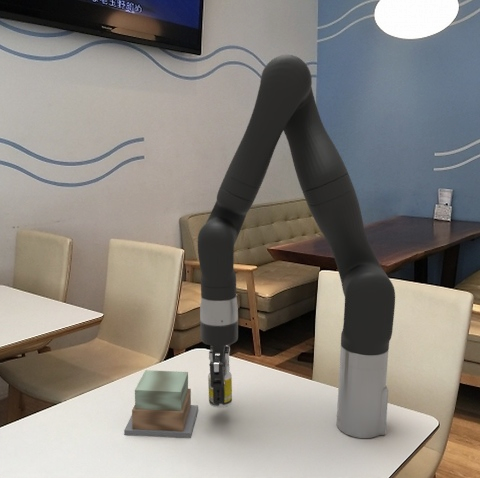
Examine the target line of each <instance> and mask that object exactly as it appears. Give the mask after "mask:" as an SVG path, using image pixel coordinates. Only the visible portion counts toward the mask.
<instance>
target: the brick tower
mask: <svg viewBox="0 0 480 478" xmlns="http://www.w3.org/2000/svg"><path fill="white" fill-rule="evenodd" d="M191 391H192V389H191V388H189V371H177V370H176V371H175V370H172V371H171V370H151V369H150V370H149V369H148V370H144V372H143V374H142V376H141V378H140V380H139V381H138V383H137V385H136V387H135V389H134V406H133V407H132V410H131V416H132V429H140V430H162V431H184V427H185V424H186V421H187V417H188V414H189V411H190V407H191V405H192V400H191V399H192V397H191V396H192V392H191Z"/></svg>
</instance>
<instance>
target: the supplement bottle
mask: <svg viewBox="0 0 480 478" xmlns="http://www.w3.org/2000/svg"><path fill="white" fill-rule="evenodd" d="M230 367H231V366H230V362H229V363H228V369H227V374H226V375H225V387H224V393H225V401H224V403H223V404H215V403H214V402H213V388H211V375H210V372H209V374H208V376H207V380H208V402H209V405H210V406H211V407H213V408H218V409H220V408H227V407H228V406H231V404H232V403H233V386H232V385H233V384H232V381H233V379H232V373H231V371H230ZM224 369H225V366H224V368H223V370H224ZM215 380H220V379H215ZM220 381H221V380H220Z"/></svg>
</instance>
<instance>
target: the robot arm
mask: <svg viewBox="0 0 480 478" xmlns="http://www.w3.org/2000/svg"><path fill="white" fill-rule="evenodd" d="M259 81H260V82H259V83H260V84H259V87H258V91H257V95H256V99H255V104H254V107H253V110H252V114H251V117H250V118H249V122H248V124H247V127H246V129H245V132H244V134H243V136H242V138H241V141H240V142H239V145H238V147H237V148H236V152H235V153H234V155H233V156H232V160H231V161H230V164H229V166H228V167H227V170H226V173H225V175H224V177H223V179H222V182H221V184H220V186H219V187H218V188H219V189H218V192H217V193H216V194H217V195H216V202H214V203H215V204H214V205H213V208H212V210H211V212H210V214H209V216H208V218H207V220H206V222H205V224H204V225H203V226H201V228H200V230H199V232H198V235H197V254H198V255H197V256H198V263H199V268H200V272H201V273H200V274H201V275H200V304H199V305H200V307H199V314H200V315H199V316H200V318H199V320H200V340H201V342H202V343H203V344H205V345H208V346H210V348H209V349H210V350H208V351H209V352H208V360H209V373H210V375H211V388H213V402H214V403H215V404H223V403H224V401H225V393H224V387H225V375H226V374H227V369H228V363H229V364H230V353H231V347H230V346H231V345H233V344H234V343H236V342H237V341H238V339H239V309H238V308H239V306H238V298H237V297H238V296H237V275H236V271H235V269H234V266H235V265H234V263H235V262H234V258H235V257H234V254H235V253H234V252H235V250H234V249H235V244H236V242H237V240H238V237H239V235H240V232H241V231H242V227H243V224H244V222H245V220H246V217H247V214H248V212H249V211H250V209H251V207H252V206H253V204H254V201H255V199H256V197H257V195H258V193H259V190H260V188H261V186H262V183H263V182H264V180H265V176H266V175H267V172H268V169H269V167H270V163H271V162H272V161H271V160H272V158H273V155H274V152H275V151H276V150H275V149H276V147H277V144H278V143H279V140H280V138H281V137H282V136H281V135H282V134H283V133H284V135H285V137H286V140H287V143H288V146H289V150H290V155H291V158H292V164H293V167H294V170H295V174H296V178H297V180H298V183H299V185H300V189H301V191H302V194H303V197H304V198H305V201H306V204H307V206H308V208H309V210H310V213H311V215H312V217H313V219H314V221H315V223H316V225H317V227H318V229H319V230H320V232H321V234H322V235H323V237H324V238H325V241H326V242H327V243H328V246H329V247H330V250H331V252H332V255H333V257H334V261H335V264H336V267H337V271H338V275H339V277H340V278H339V279H340V281H341V283H340V284H341V287H342V293H343V295H344V307H343V308H344V310H343V311H344V312H343V325H342V326H343V327H342V331H341V335H340V350H339V351H340V355H339V370H338V371H339V372H338V389H337V390H338V391H337V392H338V394H337V408H336V409H337V410H336V427H337V428H338V429H339V431H340V432H342V433H343V434H345V435H347V436H350V437H353V438H360V439H371V438H376V437H378V436H386V431H387V429H386V428H387V416H388V402H389V389H388V387H387V386H388V385H387V377H388V376H387V375H388V361H389V348H390V342H391V338H392V336H393V329H394V328H393V327H394V317H395V307H396V291H395V287H394V285H393V282H392V280H391V279H390V278H389V276H388V275H387V273H386V272H385V270H384V268H383V267H382V266H381V264H380V262H379V260H378V258H377V256H376V255H375V252H374V251H373V248H372V246H371V244H370V242H369V240H368V236H367V234H366V231H365V226H364V221H363V220H364V219H363V215H362V209H361V206H360V202H359V199H358V196H357V192H356V190H355V186H354V184H353V182H352V179H351V177H350V175H349V171H348V169H347V166H346V165H345V163H344V160H343V158H342V157H341V155H340V152H339V150H338V149H337V147H336V146H335V143H334V142H333V140H332V138H331V136H329V134H328V132H327V130H326V128H325V126H324V123H323V122H322V118H321V117H320V116H321V115H320V112H319V110H318V106H317V102H316V100H315V96H314V92H313V87H312V84H313V79H312V74H311V71H310V68H309V66H308V65H307V64H306V62H305V61H303V59H301V58H300V57H299V56H296V55H293V54H281V55H279V56H276V57H274V58H272V59H271V60H270V61H269V62H268V63H267V64H266V65H265V67H264V68H263V70H262V72H261V76H260V80H259ZM224 366H225V369H224V370H223V368H224ZM215 379H220V380H221V381H220V380H215Z"/></svg>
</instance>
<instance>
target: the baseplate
mask: <svg viewBox="0 0 480 478" xmlns="http://www.w3.org/2000/svg"><path fill="white" fill-rule="evenodd" d="M198 412H199V405H196V404H191V407H190V411H189V414H188V417H187V421H186V424H185V427H184V431H162V430H140V429H132V415H131V416H130V418H129V419H128V421H127V424H126V426H125V427H124V430H123V431H124V433H123V434H124V435H125V436H138V437H139V436H141V437H160V438H161V437H164V438H167V437H168V438H185V439H186V438H187V439H190V438H191V437H192V435H193V429H194V426H195V423H196V418H197V415H198Z"/></svg>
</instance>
